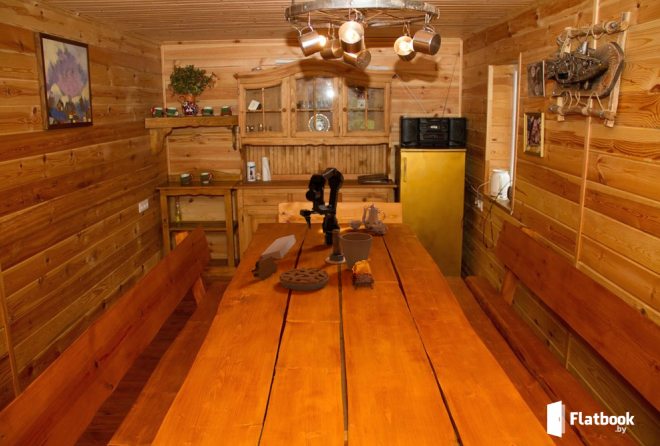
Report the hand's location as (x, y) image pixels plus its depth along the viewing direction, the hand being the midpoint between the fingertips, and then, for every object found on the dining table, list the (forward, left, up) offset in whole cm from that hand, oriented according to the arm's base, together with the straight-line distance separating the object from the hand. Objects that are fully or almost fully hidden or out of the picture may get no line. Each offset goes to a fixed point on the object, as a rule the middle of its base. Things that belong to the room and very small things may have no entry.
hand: (317, 228), depth 293 cm
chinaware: (-49, -31, -13) cm, 59 cm away
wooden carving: (+39, +28, -13) cm, 50 cm away
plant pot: (-4, +35, -13) cm, 38 cm away
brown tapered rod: (-2, +18, -12) cm, 22 cm away
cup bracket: (-2, +18, -13) cm, 22 cm away
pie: (+26, +43, -13) cm, 52 cm away
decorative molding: (+17, -14, -14) cm, 26 cm away
